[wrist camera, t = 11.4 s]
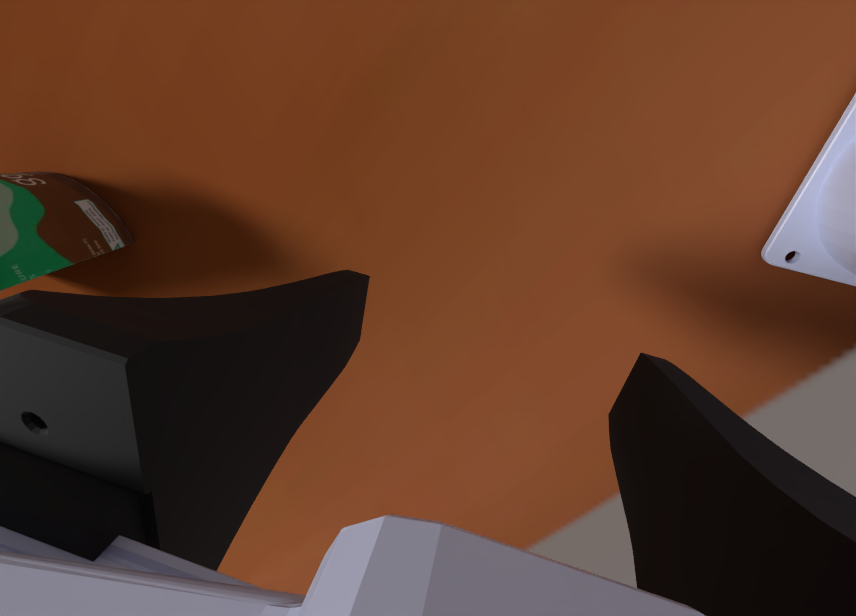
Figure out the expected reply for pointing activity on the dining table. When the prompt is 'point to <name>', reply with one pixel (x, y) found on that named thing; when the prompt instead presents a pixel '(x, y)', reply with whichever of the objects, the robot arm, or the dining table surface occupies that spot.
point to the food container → (52, 225)
